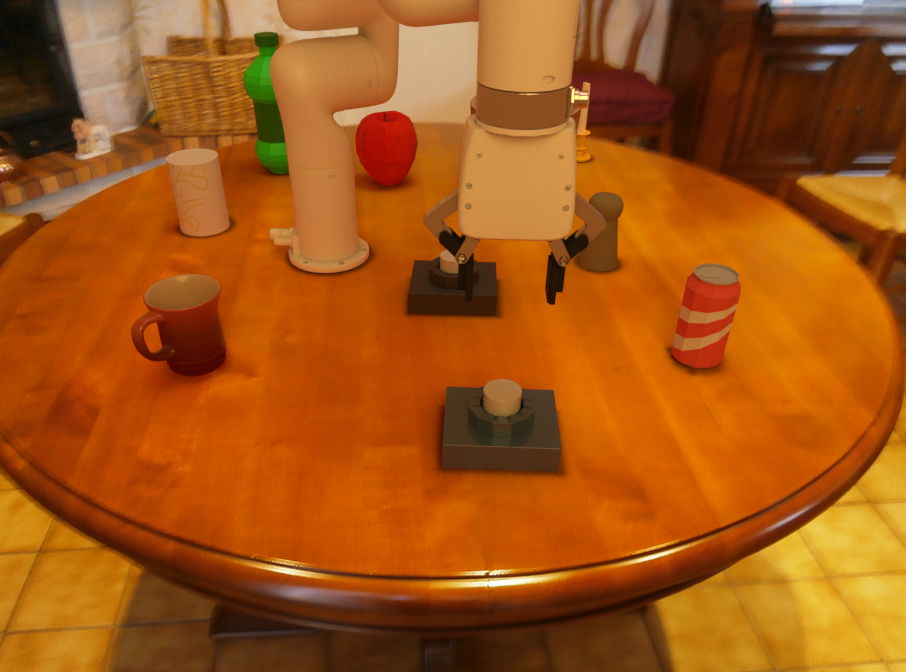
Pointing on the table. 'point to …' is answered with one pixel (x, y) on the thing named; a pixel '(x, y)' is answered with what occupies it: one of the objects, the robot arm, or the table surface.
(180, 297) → the mug
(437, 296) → the dark brown button base
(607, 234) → the pawn
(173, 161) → the cup
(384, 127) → the apple
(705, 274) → the beverage can
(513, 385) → the beige push button
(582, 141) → the candle
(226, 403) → the table surface
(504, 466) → the front button base
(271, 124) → the plastic bottle
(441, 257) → the push button
